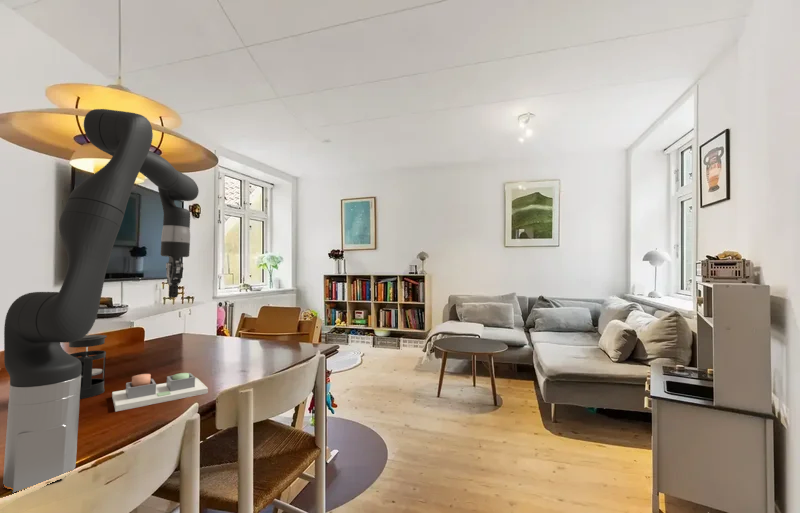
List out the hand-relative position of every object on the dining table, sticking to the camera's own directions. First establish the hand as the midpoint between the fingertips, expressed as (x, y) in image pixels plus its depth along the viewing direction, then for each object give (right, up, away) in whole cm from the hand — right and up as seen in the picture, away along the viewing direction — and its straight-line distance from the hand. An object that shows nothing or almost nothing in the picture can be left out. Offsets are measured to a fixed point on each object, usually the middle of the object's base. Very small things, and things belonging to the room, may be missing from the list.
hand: (172, 297), depth 107 cm
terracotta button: (-5, -25, -6) cm, 27 cm away
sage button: (+2, -27, +1) cm, 27 cm away
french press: (-24, -29, -3) cm, 38 cm away
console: (-2, -29, -3) cm, 29 cm away
